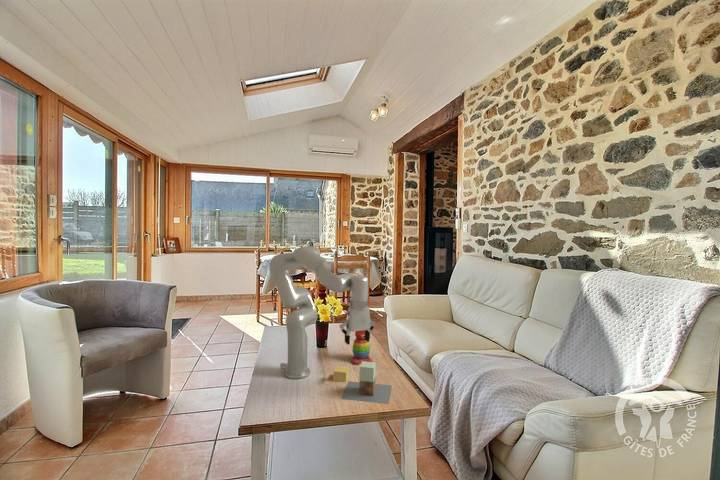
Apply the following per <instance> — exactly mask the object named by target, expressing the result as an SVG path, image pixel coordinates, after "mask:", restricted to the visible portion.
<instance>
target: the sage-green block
mask: <svg viewBox="0 0 720 480" xmlns="http://www.w3.org/2000/svg"><path fill="white" fill-rule="evenodd" d="M358 374H359V379H358V380H359V381H358V382H360V381H367V382H374V378H375V379H376V362H375V361H372V362H365V361H362V362H361V364H359V373H358Z"/></svg>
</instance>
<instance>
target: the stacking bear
mask: <svg viewBox="0 0 720 480" xmlns="http://www.w3.org/2000/svg"><path fill="white" fill-rule="evenodd" d="M365 331H366V330H362V331H354V334H355V338H354V341H353V344H352V354H353V357H352V359H351V363H352V364H353V365H355V366H357V365H359V366H360V365H361V362H362V361H365V362H373V359H372V358H371V357H370V352H371V351H370V350H371V349H370V348H371V347H370V346H371V345H370V341H369V342H367V341H366V340H365Z"/></svg>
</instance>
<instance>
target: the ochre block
mask: <svg viewBox="0 0 720 480" xmlns="http://www.w3.org/2000/svg"><path fill="white" fill-rule="evenodd" d="M349 372H350V367H349V366H339V365H338V366H337V365H336V366H335V368H334V370H333V373H332V375H333V377H332V378H333V380H332V381H333V382H341V383H347V381H348V379H349V377H350V376H349V375H350V373H349Z"/></svg>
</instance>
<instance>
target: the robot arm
mask: <svg viewBox="0 0 720 480" xmlns="http://www.w3.org/2000/svg"><path fill="white" fill-rule="evenodd" d="M268 267H269V269H268V270H269V274H270V276H271V278H272V280H273V281H274V285H275V287H276V290H277V293H278V295H279V298H280V301H281V303H282V306H283V307H284V308H286V309H294V308H296V307H297V309H294V310H292V311H291V312H289V313H288V314H287V315H286V317H285V325H286V326H285V327H286V331H287V362H286V363H283V362H281V363H280V364H279V366H280V370H284V374H283V375H284V376H285V377H286V378H288V379H293V380H294V379H295V380H297V379H298V380H299V379H304V378H306V377H308V376H310V374H311V368H309V367H308V335H307V332H306V329H305V328H307V327H310V326H311V325H313V324H315V323H316V321H317V319H318V312H317V309H316V305H315V303H314V301H313V298H312V295H311V293H310V291H309V290H308V289H307V288H306V287H304V286H295V283H294V281H293V278H292V276H291V275H290V274H289V273H288V272H287V271H290V270H296V269H300V268H305V269H306V270H307V271H310V272H311V273H312V274H314V275H315V277H316V279H317V280H318V282H319V283H320V284H321V285H322V286H323V287H325V288H326V289H327V290H329V291H331V292H333V293H338V294H339V293H342V292H346V291H350V300H349V301H348V302H347V306H348V309H347V313H346V321H344V322H342V323H341V324H340V325H339V328H340V331H341V332H342V334H344V343H345V344H346V345H350V341H351V336H350V334H351V333H352V332H354V333H355V332H356V331H362V330H366V331H365V340H366V341H367V342H369V343H370V338H371V333H372V330H373V329H374V327H375V326H376V321H374V320H372V319H371V312H370V307H369V306H368V299H369V298H368V295H369V278H368V276H365V275H357V274H353V273H349V272H346V273H342V274H335V273H334V272H332V271H331V270H330V269H328V268H327V267H328V261H327V259H326V258H324V257H323V256H321V252H320V250H319V249H318V247H316V246H313V245H312V246H311V245H309V246H308V245H307V246H300V247H298V248H295V250H294V252H285V253H278V254H276V255H274V256H273V257H272V258H271V260H270V261H269V266H268ZM345 327H346V328H345Z"/></svg>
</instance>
